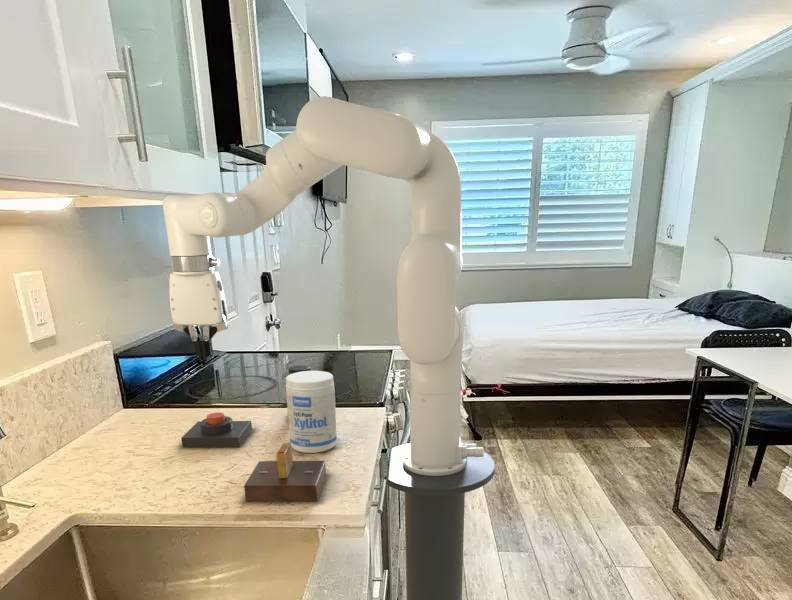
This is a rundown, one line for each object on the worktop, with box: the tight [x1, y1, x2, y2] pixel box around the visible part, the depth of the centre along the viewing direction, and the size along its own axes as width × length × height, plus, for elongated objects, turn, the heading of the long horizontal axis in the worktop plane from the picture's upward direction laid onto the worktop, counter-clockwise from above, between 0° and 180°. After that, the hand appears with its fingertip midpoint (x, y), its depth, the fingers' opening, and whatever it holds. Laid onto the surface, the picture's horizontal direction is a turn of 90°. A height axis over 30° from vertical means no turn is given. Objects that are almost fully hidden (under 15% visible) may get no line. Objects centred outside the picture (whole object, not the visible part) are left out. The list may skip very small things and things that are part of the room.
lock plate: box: [243, 460, 327, 503], centre depth 99 cm, size 12×10×3 cm
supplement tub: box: [285, 370, 338, 454], centre depth 114 cm, size 10×10×15 cm
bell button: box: [206, 412, 225, 425], centre depth 121 cm, size 4×4×2 cm
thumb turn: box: [276, 442, 294, 478], centre depth 97 cm, size 5×1×5 cm, turn 177°
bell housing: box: [180, 415, 253, 449], centre depth 122 cm, size 12×10×4 cm
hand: (205, 359), depth 116 cm, fingers closed
